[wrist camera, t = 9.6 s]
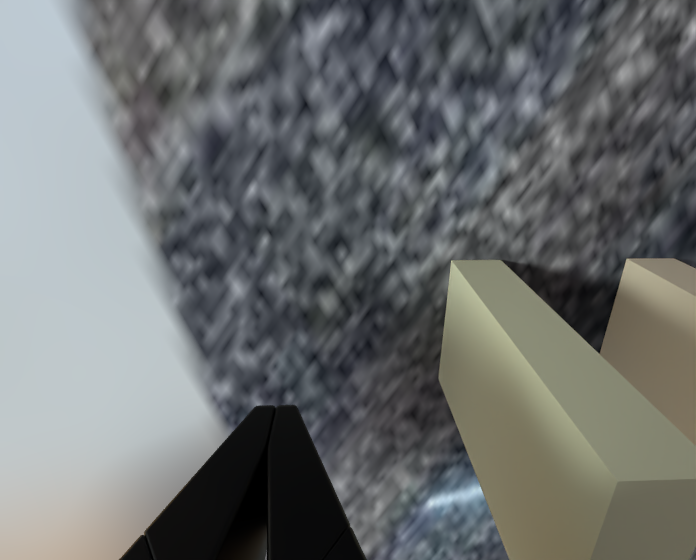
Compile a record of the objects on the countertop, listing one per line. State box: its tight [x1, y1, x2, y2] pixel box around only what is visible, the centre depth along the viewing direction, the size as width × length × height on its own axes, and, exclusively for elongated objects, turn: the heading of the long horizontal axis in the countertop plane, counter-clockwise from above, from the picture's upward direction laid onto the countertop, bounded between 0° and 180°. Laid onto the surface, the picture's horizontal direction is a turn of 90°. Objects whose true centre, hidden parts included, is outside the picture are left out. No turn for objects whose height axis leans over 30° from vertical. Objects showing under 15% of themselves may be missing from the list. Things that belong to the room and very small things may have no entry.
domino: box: [438, 260, 696, 560], centre depth 9 cm, size 4×1×8 cm, turn 0°
